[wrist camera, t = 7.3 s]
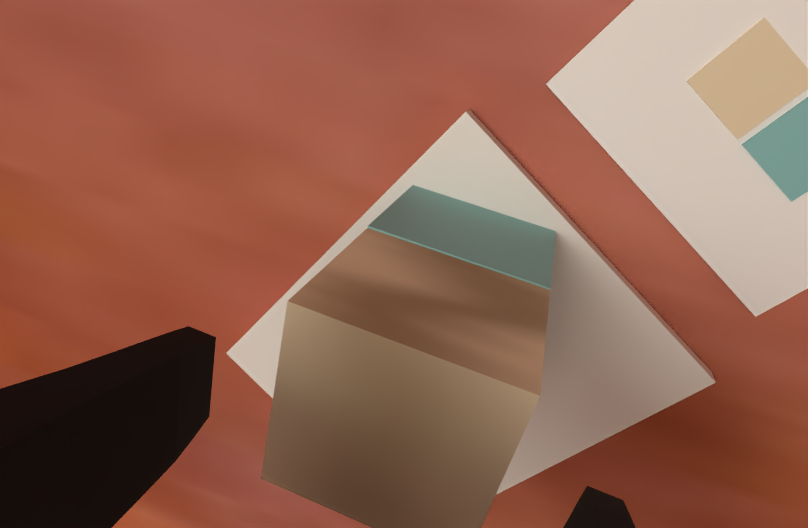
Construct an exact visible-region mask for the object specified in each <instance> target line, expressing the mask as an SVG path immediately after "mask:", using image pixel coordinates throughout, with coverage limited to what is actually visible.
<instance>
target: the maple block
mask: <svg viewBox="0 0 808 528" xmlns="http://www.w3.org/2000/svg"><path fill="white" fill-rule="evenodd" d="M549 298H550V290H549V289H546V288H543V287H540V286H537V285H535V284H532V283H529V282H526V281H523V280H520V279H517V278H514V277H511V276H508V275H505V274H502V273H499V272H496V271H493V270H490V269H488V268H485V267H482V266H479V265H476V264H473V263H470V262H467V261H464V260H461V259H458V258H455V257H452V256H449V255H446V254H443V253H441V252H438V251H435V250H432V249H429V248H426V247H423V246H420V245H417V244H414V243H411V242H408V241H405V240H402V239H399V238H397V237H394V236H391V235H388V234H385V233H382V232H379V231H376V230H373V229H370V228H367V229H366V230H364V231H363V232H362V233H361V234H360V235H359V236H358V237H357V238H356V239H355V240H354V241H352V242H351V243H350V244H349V245H348V246H347V247H346V248H345V249H344V250H343V251H342V252H340V253H339V254H338V255H337V256H336V257H335V258H334V259H333V260H332V261H331V262H330V263H328V264H327V265H326V266H325V267H324V268H323V269H322V270H321V271H320V272H319V273H318V274H316V275H315V276H314V277H313V278H312V279H311V280H310V281H309V282H308V283H307V284H306V285H304V286H303V287H302V288H301V289H300V290H299V291H298V292H297V293H296V294H295V295H294V296H292V297H291V298H290V299H289V300H288V301H287V308H286V314H285V321H284V328H283V334H282V341H281V348H280V354H279V361H278V368H277V375H276V381H275V388H274V395H273V401H272V408H271V415H270V421H269V428H268V435H267V442H266V448H265V455H264V462H263V468H262V475H261V479H264V480H266V481H268V482H270V483H273V484H275V485H277V486H279V487H282V488H284V489H286V490H288V491H291V492H293V493H295V494H298V495H300V496H302V497H304V498H307V499H309V500H311V501H313V502H316V503H318V504H320V505H322V506H325V507H327V508H329V509H332V510H334V511H336V512H338V513H341V514H343V515H345V516H347V517H350V518H352V519H354V520H356V521H359V522H361V523H363V524H366V525H368V526H370V527H372V528H481V526H482V524H483V522H484V520H485V517H486V515H487V513H488V511H489V508H490V506H491V504H492V502H493V500H494V497H495V495H496V493H497V491H498V489H499V486H500V484H501V482H502V480H503V478H504V475H505V473H506V471H507V469H508V466H509V464H510V462H511V460H512V458H513V455H514V453H515V451H516V449H517V447H518V444H519V442H520V440H521V438H522V435H523V433H524V431H525V429H526V427H527V424H528V422H529V420H530V418H531V416H532V413H533V411H534V409H535V407H536V404H537V402H538V400H539V398H540V394H541V383H542V373H543V362H544V351H545V341H546V330H547V319H548V309H549Z"/></svg>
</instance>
